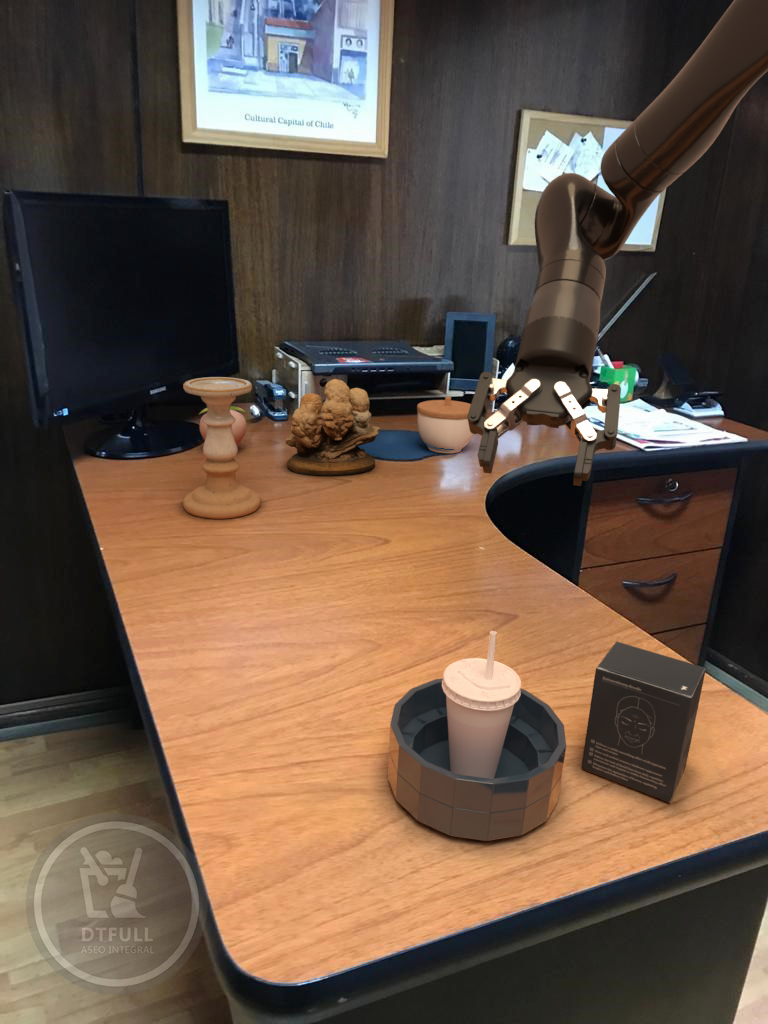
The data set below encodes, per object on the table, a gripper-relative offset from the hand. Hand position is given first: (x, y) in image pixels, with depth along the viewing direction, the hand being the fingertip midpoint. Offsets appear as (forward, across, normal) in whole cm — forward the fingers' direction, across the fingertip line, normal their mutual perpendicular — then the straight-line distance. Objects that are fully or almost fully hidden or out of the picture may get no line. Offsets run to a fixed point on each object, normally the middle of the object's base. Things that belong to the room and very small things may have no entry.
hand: (531, 475), depth 73 cm
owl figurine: (-28, -44, +60) cm, 79 cm away
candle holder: (-8, -53, +40) cm, 67 cm away
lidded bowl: (-43, -28, +75) cm, 91 cm away
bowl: (+28, 0, +4) cm, 28 cm away
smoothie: (+27, 0, +4) cm, 28 cm away
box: (+23, +13, +9) cm, 28 cm away
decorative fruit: (-28, -68, +60) cm, 94 cm away
